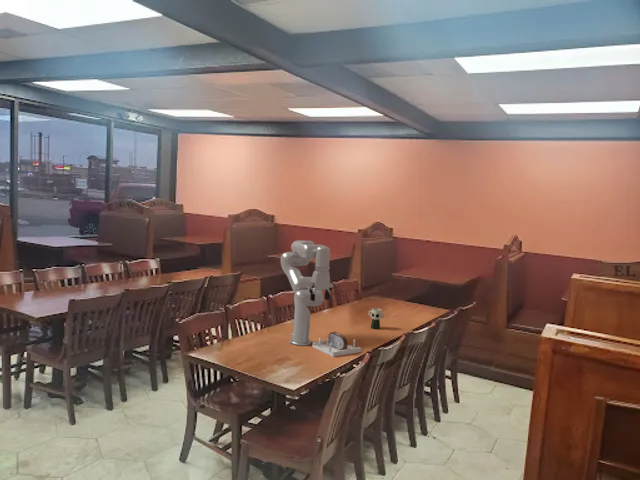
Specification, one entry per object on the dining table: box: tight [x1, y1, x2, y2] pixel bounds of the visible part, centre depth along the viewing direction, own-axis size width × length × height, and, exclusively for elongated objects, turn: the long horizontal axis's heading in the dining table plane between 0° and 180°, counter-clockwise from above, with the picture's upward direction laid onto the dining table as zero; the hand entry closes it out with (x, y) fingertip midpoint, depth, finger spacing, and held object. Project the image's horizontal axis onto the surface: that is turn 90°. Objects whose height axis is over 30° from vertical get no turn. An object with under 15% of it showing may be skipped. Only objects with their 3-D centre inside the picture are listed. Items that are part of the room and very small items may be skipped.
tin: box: [327, 331, 349, 350], centre depth 295 cm, size 15×3×8 cm, turn 37°
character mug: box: [368, 307, 385, 330], centre depth 350 cm, size 11×7×13 cm, turn 68°
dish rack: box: [312, 336, 362, 358], centre depth 296 cm, size 19×20×6 cm
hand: (319, 300), depth 283 cm, fingers open, 9 cm apart
